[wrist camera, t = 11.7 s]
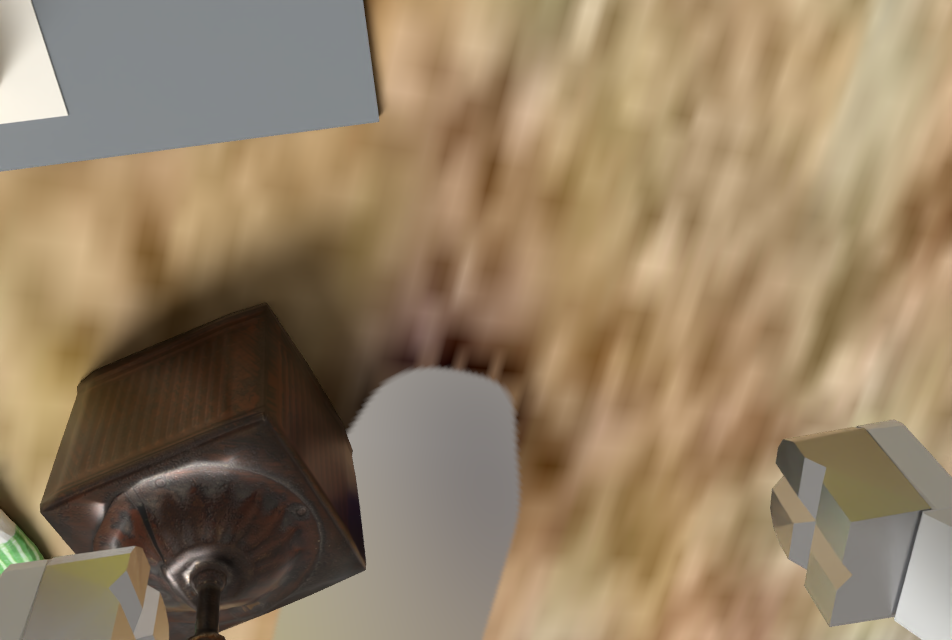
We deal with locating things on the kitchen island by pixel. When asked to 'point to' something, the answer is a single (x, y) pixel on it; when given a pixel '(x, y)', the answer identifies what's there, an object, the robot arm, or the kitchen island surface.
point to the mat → (175, 74)
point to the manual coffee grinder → (212, 473)
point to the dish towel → (15, 544)
